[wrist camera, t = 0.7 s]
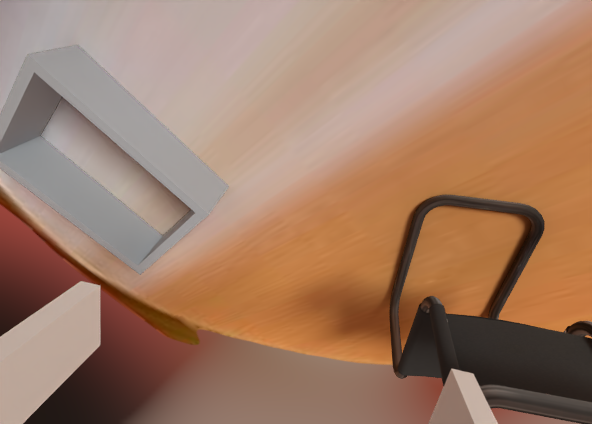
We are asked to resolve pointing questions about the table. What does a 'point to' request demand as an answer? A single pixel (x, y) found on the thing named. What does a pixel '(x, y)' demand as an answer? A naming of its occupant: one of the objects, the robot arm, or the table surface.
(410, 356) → the chair
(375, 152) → the table surface
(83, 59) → the well
